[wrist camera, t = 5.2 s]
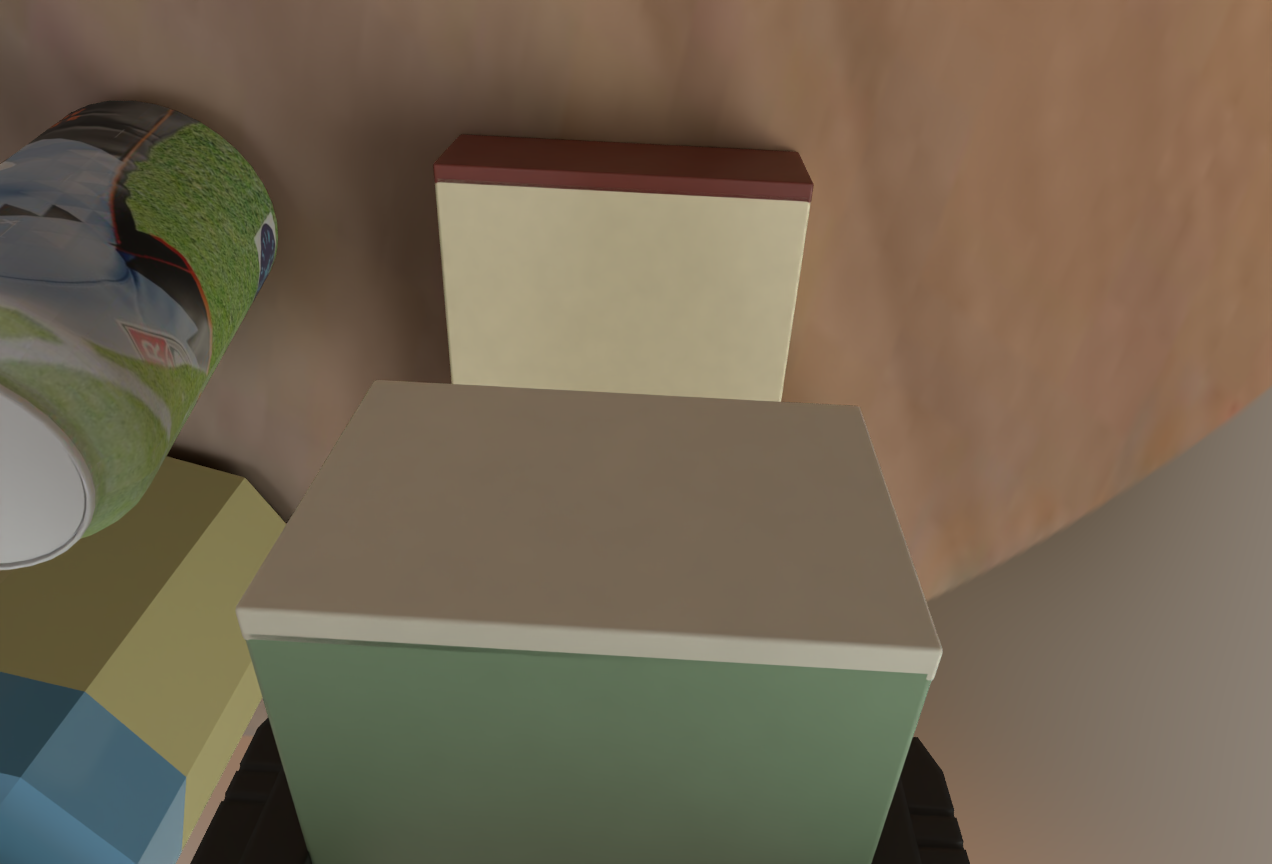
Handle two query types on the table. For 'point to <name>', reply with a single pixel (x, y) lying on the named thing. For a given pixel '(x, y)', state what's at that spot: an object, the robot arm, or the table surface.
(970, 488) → the table surface
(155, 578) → the yellow blue block
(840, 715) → the top book
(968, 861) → the robot arm
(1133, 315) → the table surface
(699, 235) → the bottom book
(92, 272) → the beverage can
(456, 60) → the table surface
